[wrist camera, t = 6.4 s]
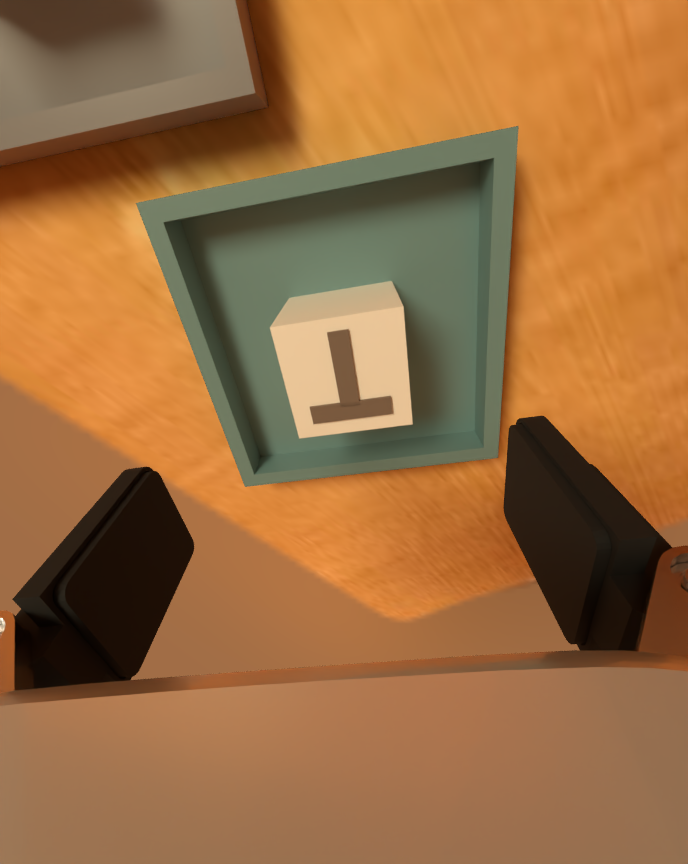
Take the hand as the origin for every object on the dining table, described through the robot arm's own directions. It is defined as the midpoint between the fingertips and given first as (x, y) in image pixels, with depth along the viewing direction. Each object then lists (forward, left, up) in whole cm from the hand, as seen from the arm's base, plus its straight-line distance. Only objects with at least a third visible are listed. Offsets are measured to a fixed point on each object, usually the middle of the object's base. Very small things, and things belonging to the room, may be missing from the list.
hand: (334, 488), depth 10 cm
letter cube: (0, 0, -11) cm, 11 cm away
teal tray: (0, 0, -12) cm, 12 cm away
